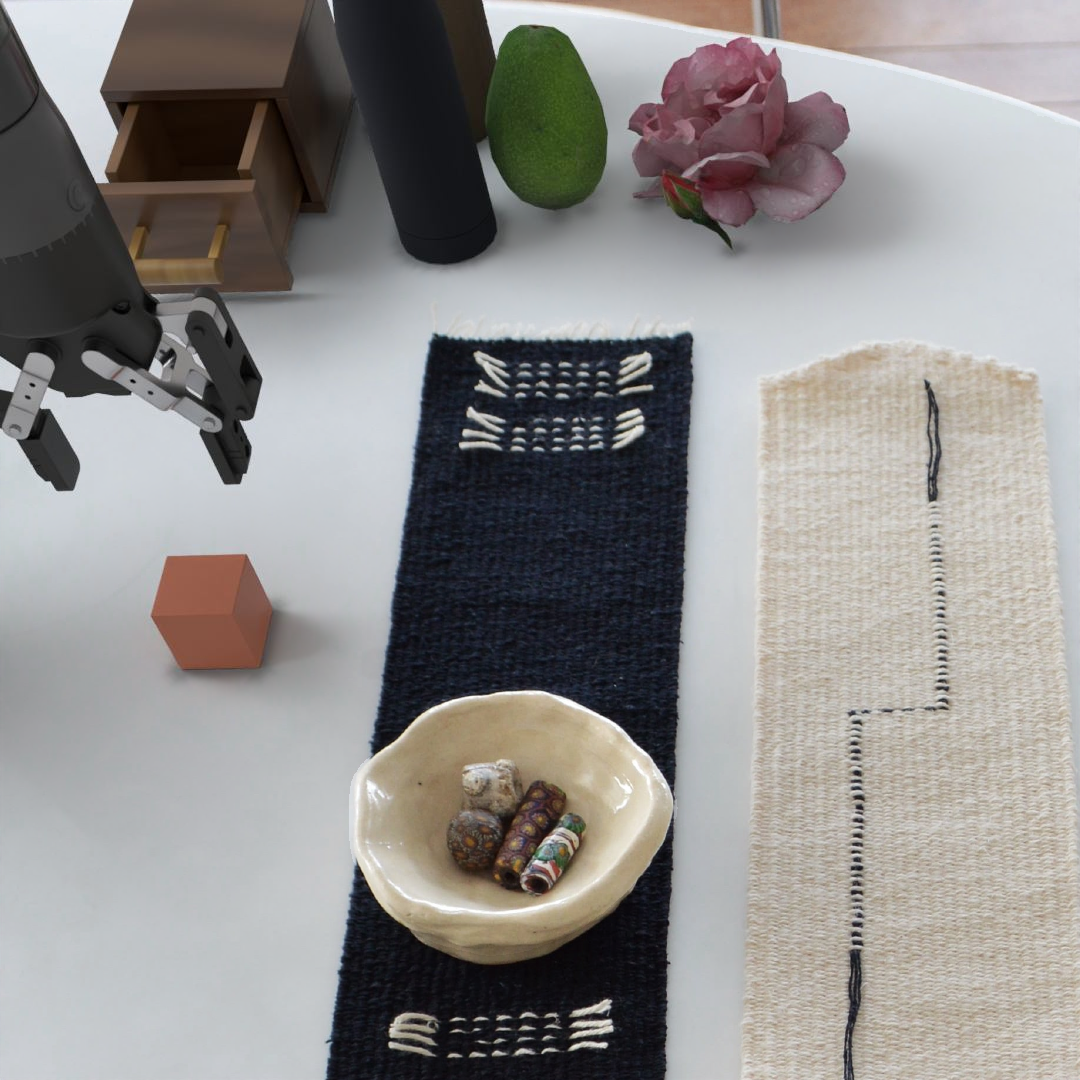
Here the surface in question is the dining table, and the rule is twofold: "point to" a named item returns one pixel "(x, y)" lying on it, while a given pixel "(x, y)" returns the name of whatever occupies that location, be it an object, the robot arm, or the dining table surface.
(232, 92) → the cabinet
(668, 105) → the flower
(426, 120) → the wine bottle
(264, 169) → the drawer
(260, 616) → the block
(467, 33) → the pillar candle
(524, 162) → the fruit
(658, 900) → the dining table surface
